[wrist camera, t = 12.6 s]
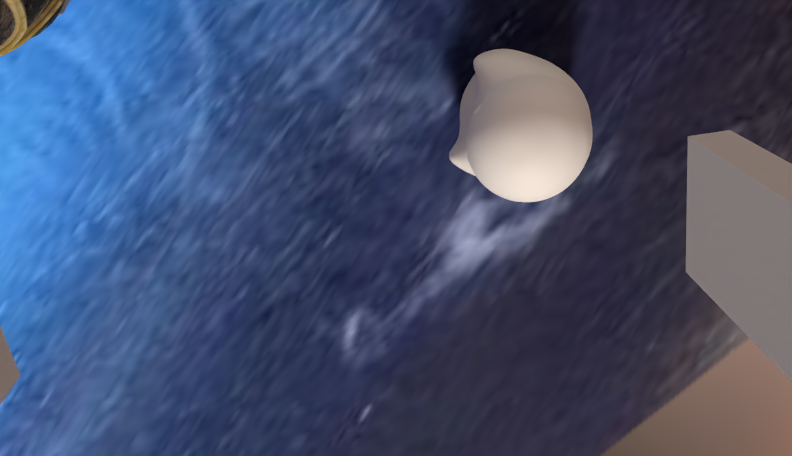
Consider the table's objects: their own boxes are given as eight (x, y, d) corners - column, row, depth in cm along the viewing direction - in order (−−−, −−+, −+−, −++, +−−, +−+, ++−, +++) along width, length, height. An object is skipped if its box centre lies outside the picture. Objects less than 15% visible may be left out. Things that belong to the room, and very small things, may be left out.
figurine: (460, 32, 43) (500, 70, 32) (582, 59, 44) (660, 106, 33) (431, 146, 46) (459, 218, 35) (547, 169, 47) (609, 246, 36)
